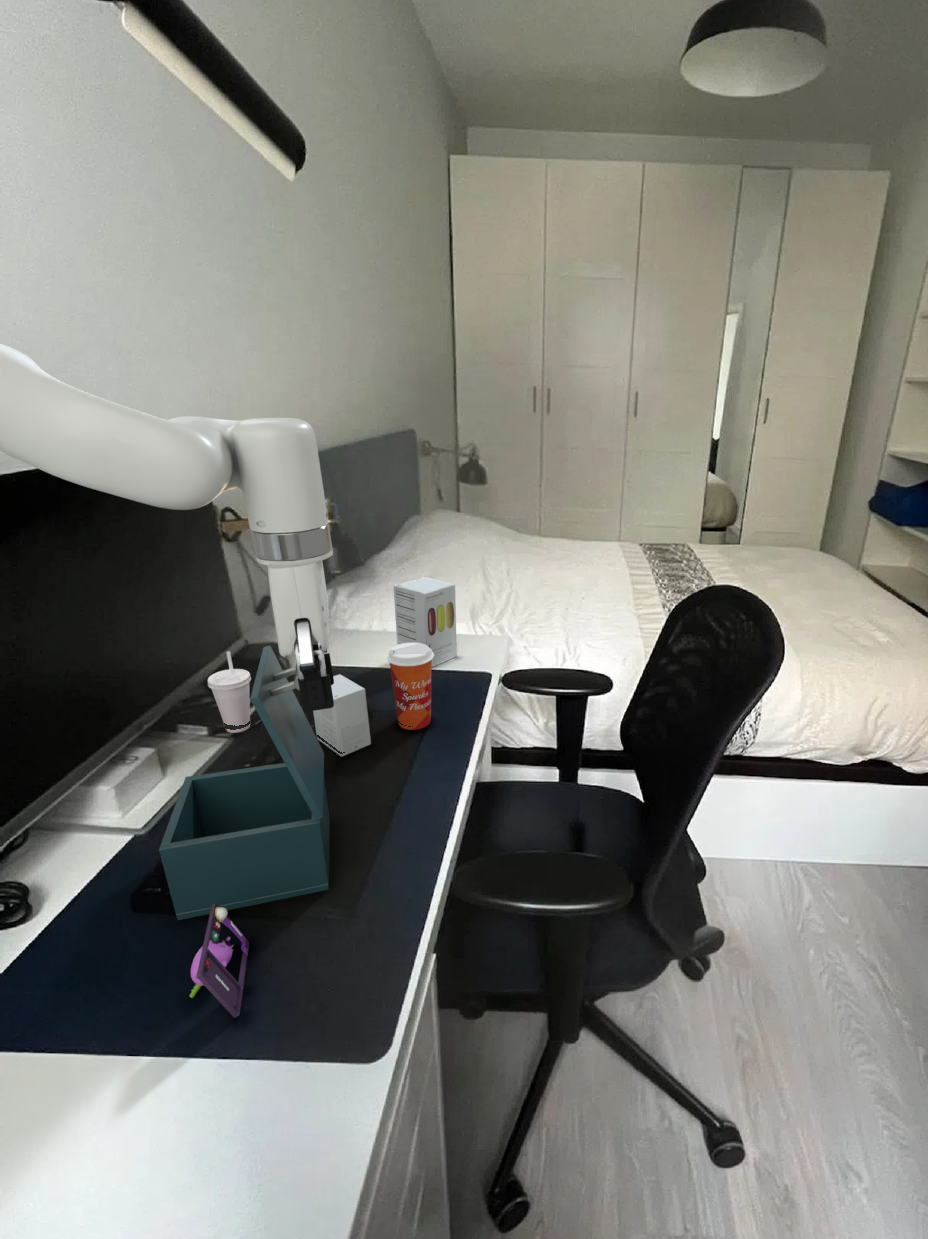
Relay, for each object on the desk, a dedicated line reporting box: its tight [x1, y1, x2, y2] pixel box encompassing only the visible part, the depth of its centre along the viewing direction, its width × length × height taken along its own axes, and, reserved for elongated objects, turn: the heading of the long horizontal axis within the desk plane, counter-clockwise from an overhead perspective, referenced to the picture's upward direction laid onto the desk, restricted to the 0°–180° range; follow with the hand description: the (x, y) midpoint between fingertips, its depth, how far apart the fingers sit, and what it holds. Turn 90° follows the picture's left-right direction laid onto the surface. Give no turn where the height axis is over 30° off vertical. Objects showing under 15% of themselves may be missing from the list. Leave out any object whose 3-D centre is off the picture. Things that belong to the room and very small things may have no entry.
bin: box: [158, 762, 331, 921], centre depth 76 cm, size 16×14×10 cm
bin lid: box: [250, 645, 325, 820], centre depth 74 cm, size 17×14×5 cm
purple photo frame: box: [189, 903, 250, 1019], centre depth 62 cm, size 7×5×9 cm
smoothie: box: [207, 650, 252, 734], centre depth 105 cm, size 6×6×14 cm
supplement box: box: [393, 576, 458, 668], centre depth 135 cm, size 10×9×17 cm
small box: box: [312, 673, 372, 757], centre depth 103 cm, size 8×6×10 cm
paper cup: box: [386, 643, 434, 731], centre depth 109 cm, size 8×8×14 cm
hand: (319, 695), depth 73 cm, fingers closed on bin lid, 5 cm apart
